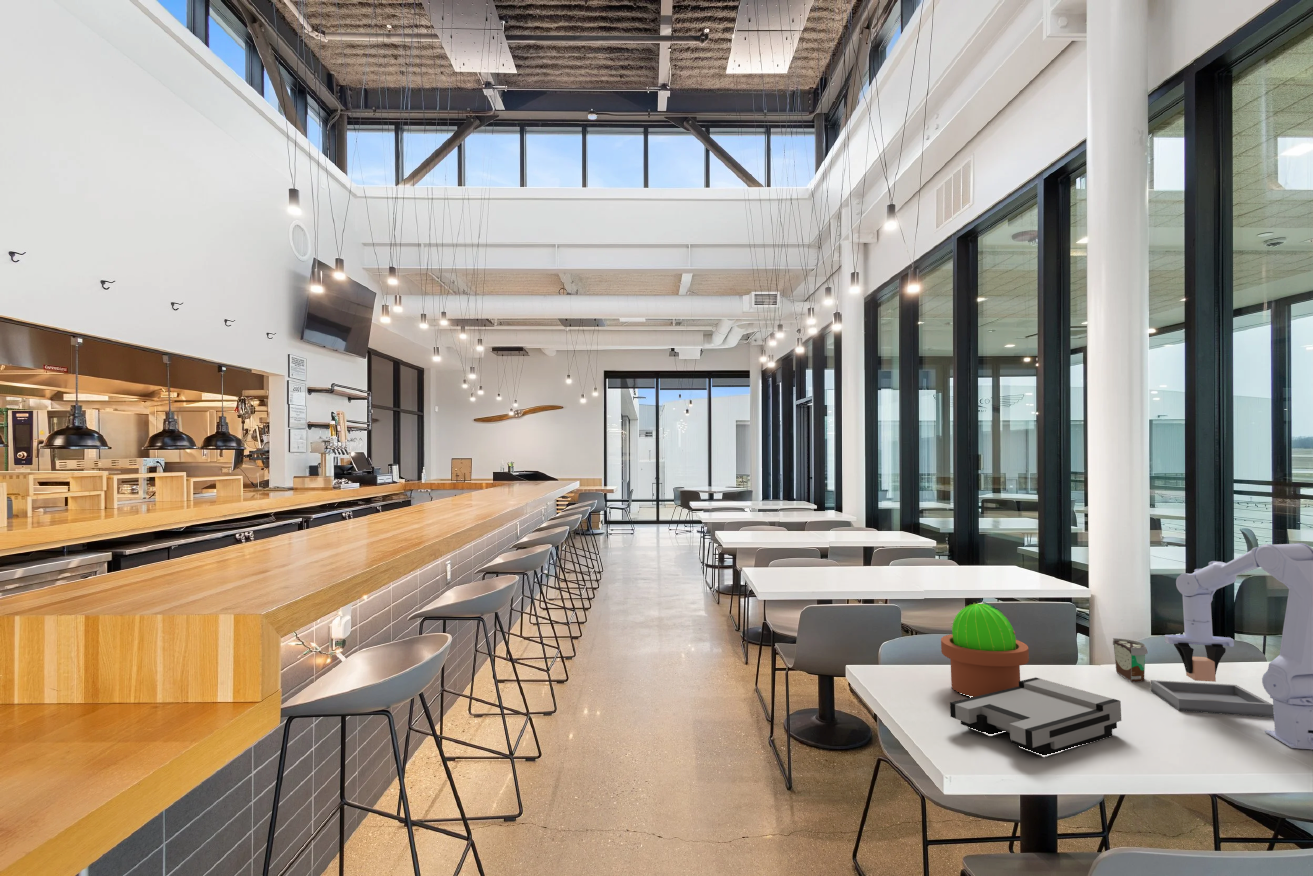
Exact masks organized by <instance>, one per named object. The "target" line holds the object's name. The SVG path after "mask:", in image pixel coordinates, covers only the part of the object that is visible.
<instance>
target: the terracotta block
mask: <svg viewBox="0 0 1313 876" xmlns="http://www.w3.org/2000/svg"><path fill="white" fill-rule="evenodd" d="M1192 664H1193V673H1188V672H1186V671H1185V674H1186V676H1187V677H1188V678H1190V679H1192V680H1194V681H1198V682H1211V683H1212V682H1213V683H1214V682H1215V683H1216V682H1217V680H1216V675H1215V662H1214V661H1212V660H1210V659H1208V658H1207V656H1193V657H1192Z"/></svg>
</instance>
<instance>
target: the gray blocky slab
mask: <svg viewBox="0 0 1313 876" xmlns="http://www.w3.org/2000/svg"><path fill="white" fill-rule="evenodd" d="M949 708H950V709H949V715H950V718H953V719H956V720H959V721H960V725H963V726H964V727H967V728H968V727H970V728H973V729H976V730H978V731H981V732H986V733H988V734H994V733H998V732H1002V731H1006V733H1009V737H1010V744H1013V745H1015V746H1018V747H1019V746H1020V747H1023V748H1025V749H1028V750H1031V751H1033V752H1036V753H1039V754H1042V755H1047V754H1051V753H1055V752H1058V751H1061V750H1065V749H1068V748H1071V747H1074V746H1078V745H1082V744H1086V743H1089V744H1091V743H1090V742H1092V743H1095V742H1098V741H1101V740H1100V739H1102V740H1104V739H1103V738H1105V739H1107V738H1106V737H1108V738H1110V737H1109V736H1111V737H1113V730H1115V729H1117V728H1118V725H1117V724H1118V723H1119V722H1122V721H1123V719H1122V703H1121V700H1118V699H1115V698H1112V697H1108V696H1105V695H1100V694H1097V693H1093V692H1090V691H1086V690H1083V689H1079V688H1075V687H1071V686H1067V685H1065V684H1062V683H1061V684H1060V683H1059V682H1058V683H1057V682H1054V681H1050V680H1047V679H1043V678H1040V677H1036V676H1035V677H1032V678H1028V679H1023V680H1020V681H1019V686H1018V687H1013V688H1009V689H1005V690H1001V691H997V692H992V693H988V694H984V695H980V696H975V697H971V698H969V697H967V698H964V699H959V700H955V701H951V702H949ZM1097 740H1098V741H1097ZM1094 741H1095V742H1094ZM1086 745H1087V744H1086Z"/></svg>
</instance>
